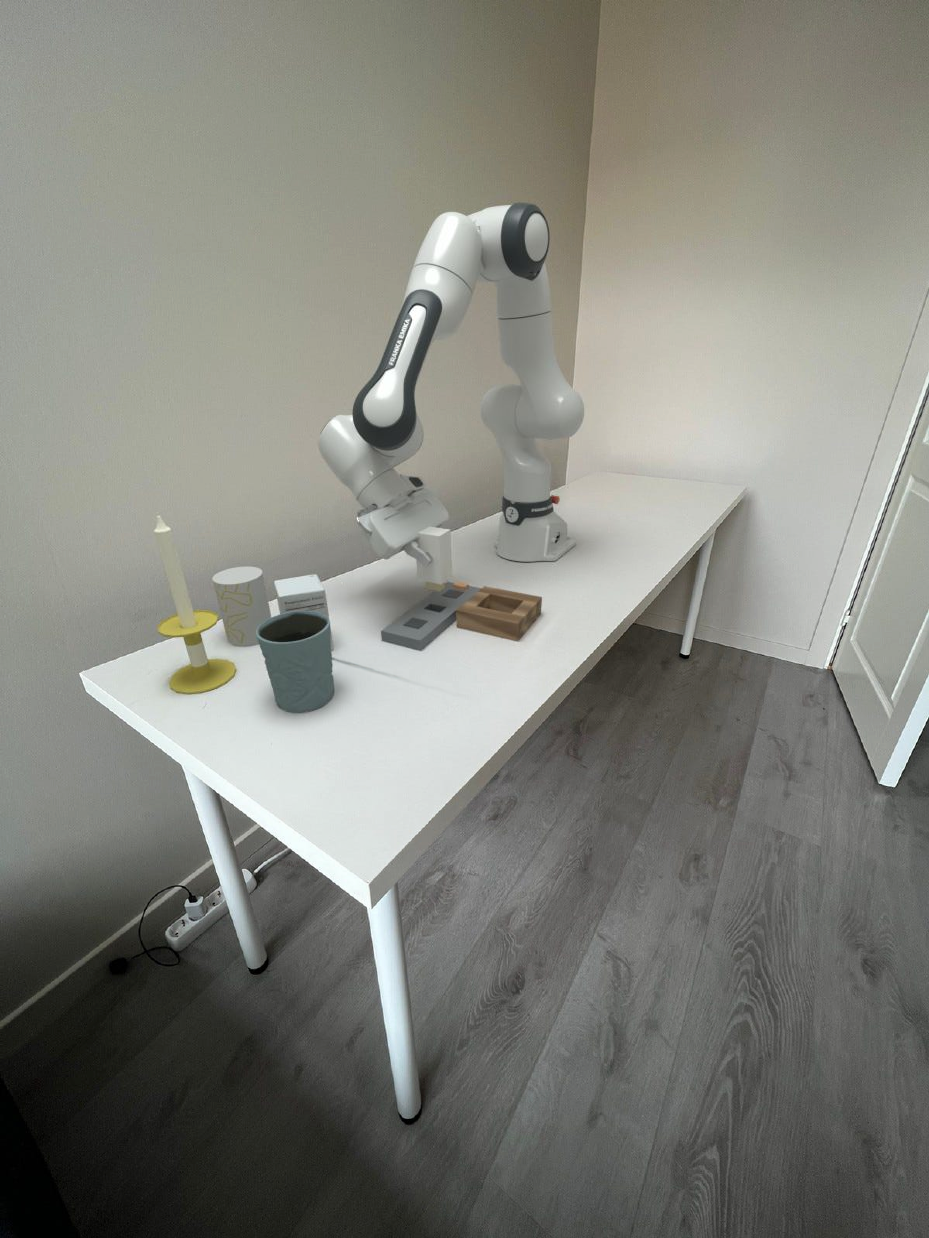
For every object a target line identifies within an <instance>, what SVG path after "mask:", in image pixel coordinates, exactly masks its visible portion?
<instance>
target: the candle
mask: <svg viewBox="0 0 929 1238" xmlns="http://www.w3.org/2000/svg"><path fill="white" fill-rule="evenodd" d="M156 514H157V516H156V527H155V529H154V530H153V531H154V536H155V539H156V543H157V546H158V550H159V553H160V556H161V560H162V563H163V566H164V570H165V573H166V577H167V580H168V584H169V588H170V591H171V594H172V599H173V602H174V605H175V609H176V613H177V614H174V615H171V616H168V617H167V618H164V619H163V620H162V621H160V623H159V624H158V626H157V628H156V629H157V631H158V634H160V635H161V636H163V637H166V638H174V639H175V638H183V640H184V641H183V642H184V645H185V648H186V652H187V655H188V659H189V662H190V664H187V665H185V666H183V667H181V668H179V669H178V670H176V672H174V673H173V674H172V675H171V677H170V678H169V680H168V684H169V685H168V686H169V688H170V690H171V691H173V692H175V693H177V694H183V695H195V694H197V695H198V694H202V693H203V694H204V693H206V692H210V691H213V690H214V691H215V690H216V689H219V688H220V687H222V686H225V684H227V683H228V682H230V681H231V680H232V679H234V677H235V675H236V672H237V667H236V665H235V663H234V662H232V661H230V660H228V659H222V658H209V659H208V656H207V652H206V648H205V645H204V644H205V643H204V642H203V641H204V640H203V637H202V633H205V632H206V631H209V630H211V628H213V627H215V625H216V624H217V623H218V621H219V616H218V614H217V613H216V612H214V611H213V610H205V609H196V610H194V609H193V606H192V602H191V598H190V595H189V591H188V587H187V584H186V579H185V575H184V573H183V569H182V565H181V562H180V561H181V560H180V557H179V554H178V550H177V546H176V543H175V539H174V535H173V532H172V528H171V527H169V526H168V525H166V523H165V522H164V520H163V519H162V517H161V515H159V512H156Z"/></svg>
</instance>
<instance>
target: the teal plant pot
mask: <svg viewBox="0 0 929 1238" xmlns="http://www.w3.org/2000/svg"><path fill="white" fill-rule="evenodd" d="M330 628H331V620H330V617H329V618H328V617H327V616H325V615H324V614H322V613H318V612H314V611H294V612H288V613H283V614H280V613H279V614H277V615H274V616H271V618H270V619H268V620H266V621H264V622H263V623H262V624H260V625H259V626H258V628H257V630H256V636H257V639H258V642H259V644H258V645H259V647H260V648H259V649H260V650H261V655H262V657H263V658H264V664H265V669H266V671H267V675H268V678H269V681H270V685H271V688H272V692H273V695H274V699H275V702H276V705H277V706H278V707H279V708H280V709H282V710H283V711H284V712H288V713H293V714H303V713H309V712H314V711H315V710H319V709H320V708H322V707H324V706H326V705H327V704H328V703H329V702H330V701H331V700H332V698H333V697H334V695H335V682H334V681H335V680H334V675H333V667H334V666H333V654H332V651H331V643H330V637H331V635H332V632H331V633H330Z"/></svg>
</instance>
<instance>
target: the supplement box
mask: <svg viewBox="0 0 929 1238" xmlns="http://www.w3.org/2000/svg"><path fill="white" fill-rule="evenodd" d="M273 583H274V590H275V594H276V600H277V605H278V610H279V615H280V614H283V613H288V612H294V611H314V612H318V613H322V614H324V615H325V616H327V617H328V618H329V619H330V615H329V608H328V599H327V595H326V589H325V587H324V586H323V584H322V582H321V580H320V577H319V576H318V574H314V573H313V574H307V575H301V576H296V577H290V578H289V577H288V578H285V579H284V578H283V579H278V580H274V581H273ZM330 633H331V637H330V643H331V652H333V651H335V649H334V643H333V642H334V641H333V635H332V629H331V627H330Z"/></svg>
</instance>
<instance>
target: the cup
mask: <svg viewBox="0 0 929 1238" xmlns="http://www.w3.org/2000/svg"><path fill="white" fill-rule="evenodd" d="M211 579H212V583H213V588H214V592H215V595H216V599H217V602H218V603H217V605H218V607H219V608H218V609H219V612H220V614H221V619H222V620H221V621H222V624H223V627H224V632H225V636H226V640H227V642H228V644H229V645H231V646H234V647H239V648H240V647H241V648H243V647H244V648H245V647H252V646H258V645H259V642H258V639H257V636H256V630H257V628H258V626H259V625H260V624H262V623H263V622H264V621H266V620H268V619H270V618H272V614H271V608H270V603H269V598H268V594H267V589H266V584H265V583H266V582H265V577H264V573H263V570H262V569H261V568H259V567H255V566H236V567H231V568H226V569H224V570H221V571H219V572H217V573H216V574H214V575H213V577H212V578H211Z"/></svg>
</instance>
